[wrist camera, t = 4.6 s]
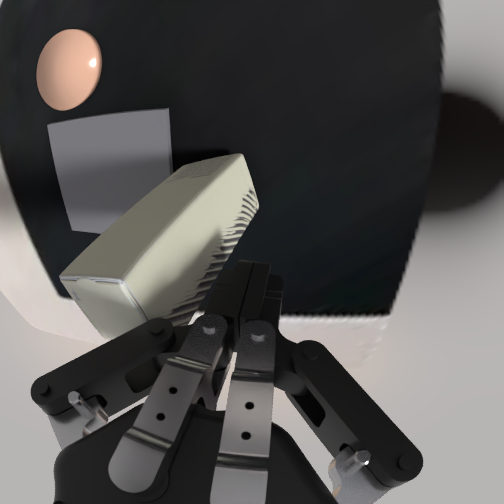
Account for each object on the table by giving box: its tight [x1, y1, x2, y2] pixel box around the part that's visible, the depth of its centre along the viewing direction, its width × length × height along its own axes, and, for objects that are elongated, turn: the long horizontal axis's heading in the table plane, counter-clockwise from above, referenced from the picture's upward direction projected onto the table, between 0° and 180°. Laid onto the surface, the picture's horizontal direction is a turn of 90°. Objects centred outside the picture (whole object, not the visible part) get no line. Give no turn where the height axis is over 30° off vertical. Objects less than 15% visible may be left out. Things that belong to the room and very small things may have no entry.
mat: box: [47, 108, 173, 233], centre depth 22 cm, size 11×12×1 cm
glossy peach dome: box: [37, 29, 102, 110], centre depth 17 cm, size 7×7×1 cm
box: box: [59, 154, 259, 340], centre depth 16 cm, size 5×4×13 cm
